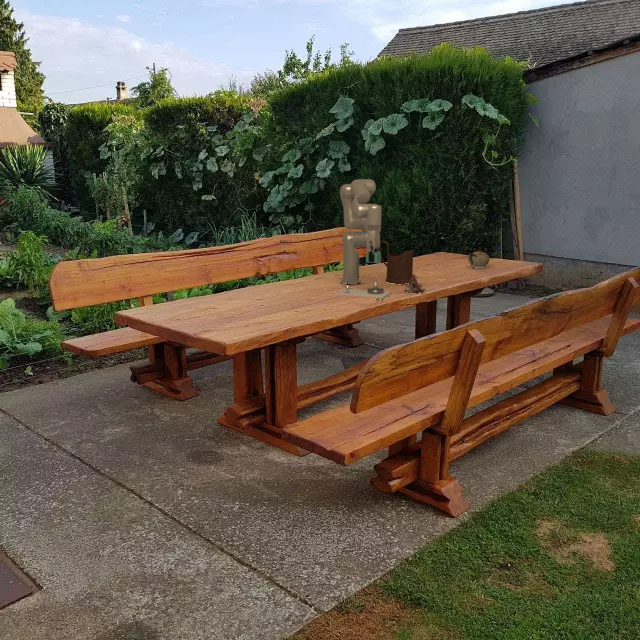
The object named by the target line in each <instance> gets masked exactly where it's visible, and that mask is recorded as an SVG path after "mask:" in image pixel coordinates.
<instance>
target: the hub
mask: <svg viewBox="0 0 640 640" xmlns="http://www.w3.org/2000/svg"><path fill="white" fill-rule="evenodd" d="M366 290H367V293H369V294H383V293H384V291H385V290H384V288H380V287H379V283H378V281H377V280H375V281H373V287H369V288H367V289H366Z"/></svg>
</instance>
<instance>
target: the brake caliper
mask: <svg viewBox="0 0 640 640" xmlns="http://www.w3.org/2000/svg"><path fill="white" fill-rule="evenodd" d="M412 278H413V279H412ZM411 282H413V283H411ZM426 290H427V289H426V287H423V282H422V281H421V280H419V275H416V274H415V273H412V277H411V279H410V281H409V285H408V283H407V284H406V285H405V288H404V291H405V293H406V292H408V293H419V292H422V293H423V292H424V291H426ZM408 293H407V294H408Z"/></svg>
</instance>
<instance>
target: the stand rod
mask: <svg viewBox="0 0 640 640" xmlns="http://www.w3.org/2000/svg"><path fill="white" fill-rule="evenodd" d="M345 289H346V293H347V294H348V293H349V289H350V285H347V284H345Z"/></svg>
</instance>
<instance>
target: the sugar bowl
mask: <svg viewBox="0 0 640 640" xmlns="http://www.w3.org/2000/svg"><path fill="white" fill-rule="evenodd" d="M490 259H491V258H490V256H489V253H488V252H484V251H482V247H481V246H479V247H478V248H477V251H474V252H471V253H470V254H469V255H468V257H467V261H468V263H469V265H470V266H471V267H472V266H474V267H485V268H486V266H487V265H488V264H489V263H490Z"/></svg>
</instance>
